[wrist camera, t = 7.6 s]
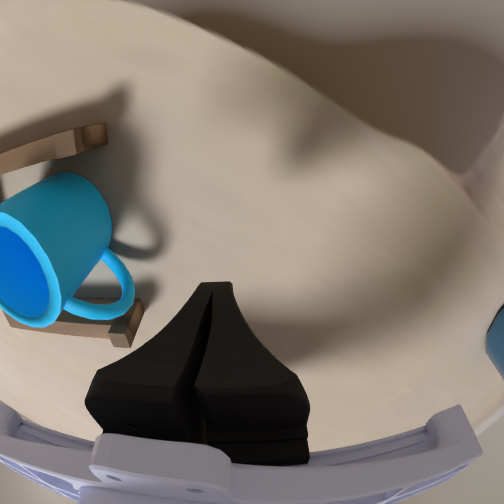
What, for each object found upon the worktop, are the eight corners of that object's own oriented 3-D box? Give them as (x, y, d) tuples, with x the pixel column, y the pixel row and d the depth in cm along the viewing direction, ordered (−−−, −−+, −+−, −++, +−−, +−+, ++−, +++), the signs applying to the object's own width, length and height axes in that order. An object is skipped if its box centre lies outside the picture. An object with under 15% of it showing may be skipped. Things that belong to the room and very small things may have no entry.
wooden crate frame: (144, 312, 24) (130, 347, 20) (26, 306, 24) (7, 332, 20) (105, 122, 17) (73, 129, 13) (-19, 163, 16) (-51, 177, 13)
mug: (25, 232, 20) (-30, 281, 13) (50, 153, 17) (-22, 184, 10) (128, 304, 24) (96, 375, 17) (172, 236, 21) (139, 305, 14)
